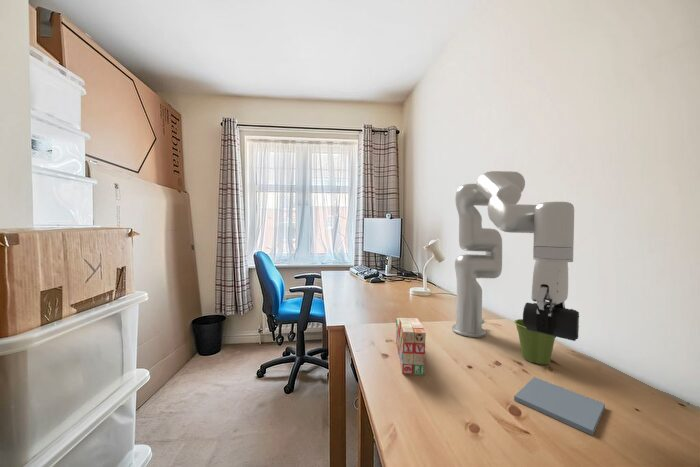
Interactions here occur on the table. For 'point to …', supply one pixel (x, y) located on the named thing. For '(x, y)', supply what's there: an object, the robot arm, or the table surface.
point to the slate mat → (562, 404)
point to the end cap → (563, 321)
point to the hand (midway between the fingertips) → (550, 328)
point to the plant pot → (534, 344)
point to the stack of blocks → (410, 345)
